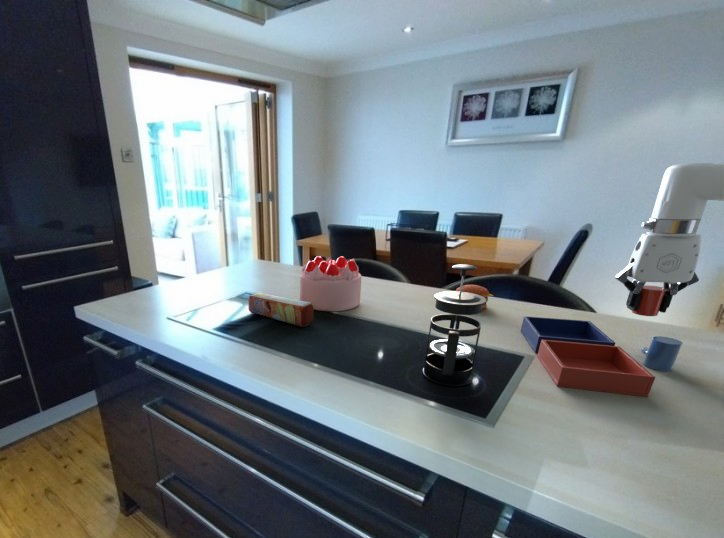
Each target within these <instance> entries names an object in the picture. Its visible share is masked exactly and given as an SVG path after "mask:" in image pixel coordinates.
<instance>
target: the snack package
mask: <svg viewBox="0 0 724 538" xmlns="http://www.w3.org/2000/svg"><path fill="white" fill-rule="evenodd" d="M248 310H249V312H250V313H251V314H253V313H256V314H255V315H258V314H259V315H258V316H262V315H263V316H262V317H265V316H266V318H268V317H269V319H272V320H276V321H279V322H284V323H287V324H291V325H294V326H296V327H300V328H304V327H307V326H309V325H310V324H311V323H312V322H313V320H314V311H315V310H314V309H313V305H312V303H310V302H304V301H300V299H294V298H289V297H288V298H287V297H283V296H278V295H273V294H267V293H262V292H259V291H257V292H254V293H253V294H251V295H249V297H248Z"/></svg>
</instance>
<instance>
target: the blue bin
mask: <svg viewBox="0 0 724 538" xmlns="http://www.w3.org/2000/svg"><path fill="white" fill-rule="evenodd" d="M520 333H521V334H522V336H523V337H524V339H525V340H526V341H527V343H528V345H529V346H530V348H531V349H532V351H533V352H534V353H535V354H538V351H539V347H540V343H541V340H552V341H564V342H575V343H586V344H597V345H609V346H616V342H615V341H614V340H612V339H611V338H610V337H609V336H608V335H607V334H605V332H603V331H602V330H601V329H600V328H598V327H597V326H596V325H595V324H594V323H593V322H591V320H580V319H567V318H554V317H553V318H552V317H541V316H540V317H539V316H525V315H524V316H523V319H522V322H521V327H520Z"/></svg>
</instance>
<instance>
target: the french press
mask: <svg viewBox="0 0 724 538" xmlns="http://www.w3.org/2000/svg"><path fill="white" fill-rule="evenodd" d="M451 268H452V269H454V270H460V277H461V280H460V286H459V287H460V291H456V290H447V291H439V292H436V293H435V294H434V295H433V298H434V300H435V305H434V306H435V308H436V310H438V311H440V312H443V313H442V314H436V315H433V316H431V318H430V323H429V331H428V338H427V346H426V353H425V360H424V367H423V368H422V375H423V377H424V378H425V379H426V380H427V381H429V382H430V383H432V384H435V385H438V386H442V387H447V388H462V387H466V386H469V385H470V384H471V383H472V381H473V370H474V365H475V359H476V355H477V349H478V344H479V339H480V333H481V329H482V323H481V321H480V320H478V319H476V318H473V317H471V316H473V315H478V314H480V313H481V312H482V311H483V310H482V305H483V304H485V303H486V299H485V298H484V297H482V296H480V295H477V294H473V293H468V292H462V286H464V280H465V277H466V276H467V273H468V271H475V270H477V269H478V267H477V266H475V265H472V264H469V263H457V264H454V265H452V266H451ZM486 304H487V303H486ZM442 321H449V327H446V326H442V325H439V324H437V323H436V322H442ZM461 323H465V324H469V325H471V326H473V327H475V328H470V329H460V325H461ZM432 330H433V331H435V332H436V333H439V334H443V335H446V336H447V339H436V340H432V341H431V334H432V333H431V332H432ZM474 336H476V340H475V346H474V347H472V345H470V344H468V343H465V342H462V341H460V337H464V338H465V337H466V338H467V337H474ZM429 351H430V352H431V353H430V354H429ZM471 357H472V360H471V359H469V358H471ZM454 370H455V371H454Z"/></svg>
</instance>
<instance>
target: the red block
mask: <svg viewBox="0 0 724 538" xmlns="http://www.w3.org/2000/svg"><path fill="white" fill-rule="evenodd" d="M665 292H666V289H665V288H663V286H657V285H648V284H647V285H646V284H645V285H644V286H643V288H642V290H641V291H640V294H641V295H642V297H641V300H640V304H639V307H638V310H637V311H632V310H631V313H632V314H635V315H637V316H643V317H658V315H659V312H660V311H659V310H660V307H661V304H662V301H663V298H664V295H665Z"/></svg>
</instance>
